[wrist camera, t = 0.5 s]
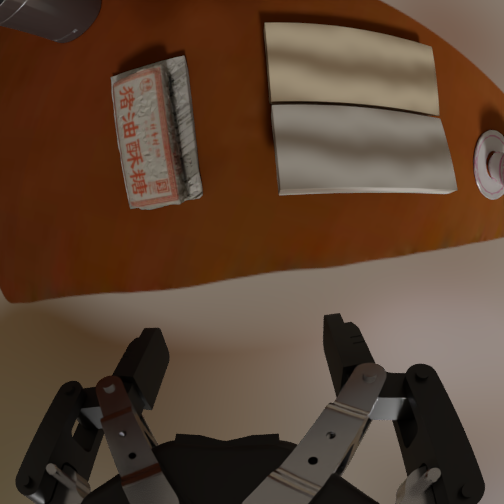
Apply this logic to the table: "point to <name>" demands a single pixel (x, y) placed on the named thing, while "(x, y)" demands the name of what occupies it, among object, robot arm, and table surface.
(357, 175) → the whitewashed plank
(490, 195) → the teacup
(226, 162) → the table surface
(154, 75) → the packaged product
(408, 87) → the oak plank
